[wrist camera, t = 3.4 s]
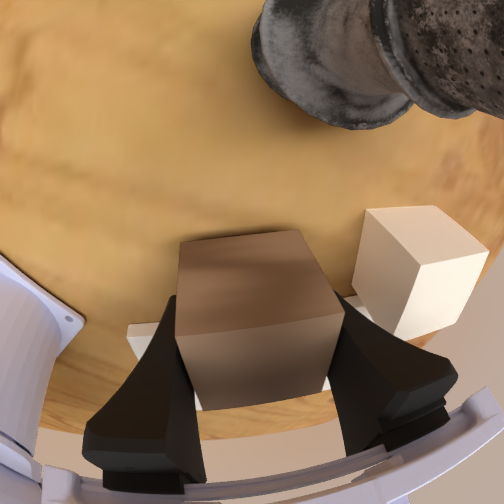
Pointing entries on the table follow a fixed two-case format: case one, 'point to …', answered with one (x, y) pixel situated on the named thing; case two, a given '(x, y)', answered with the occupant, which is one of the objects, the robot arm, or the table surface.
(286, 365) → the walnut block
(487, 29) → the grey tall round piece
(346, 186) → the table surface
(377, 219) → the cream block
